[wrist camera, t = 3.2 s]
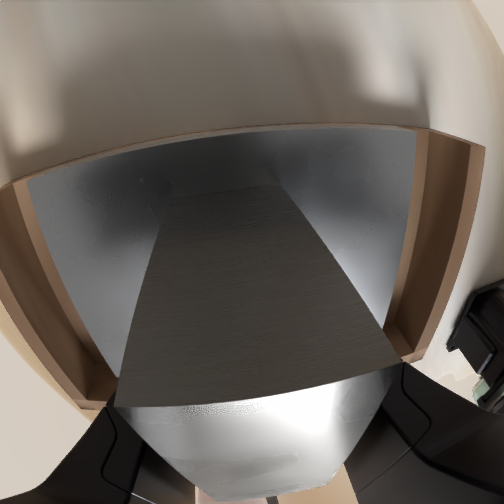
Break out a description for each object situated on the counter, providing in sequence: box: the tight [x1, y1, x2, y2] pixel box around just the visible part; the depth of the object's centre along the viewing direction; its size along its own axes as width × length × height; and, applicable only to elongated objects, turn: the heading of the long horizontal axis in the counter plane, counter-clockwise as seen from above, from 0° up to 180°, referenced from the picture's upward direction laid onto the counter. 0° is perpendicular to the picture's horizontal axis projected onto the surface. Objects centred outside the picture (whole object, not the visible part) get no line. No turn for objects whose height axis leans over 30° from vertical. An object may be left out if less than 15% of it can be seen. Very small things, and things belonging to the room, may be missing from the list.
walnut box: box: [0, 123, 486, 410], centre depth 11 cm, size 19×12×4 cm, turn 94°
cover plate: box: [26, 124, 417, 502], centre depth 7 cm, size 12×9×7 cm
